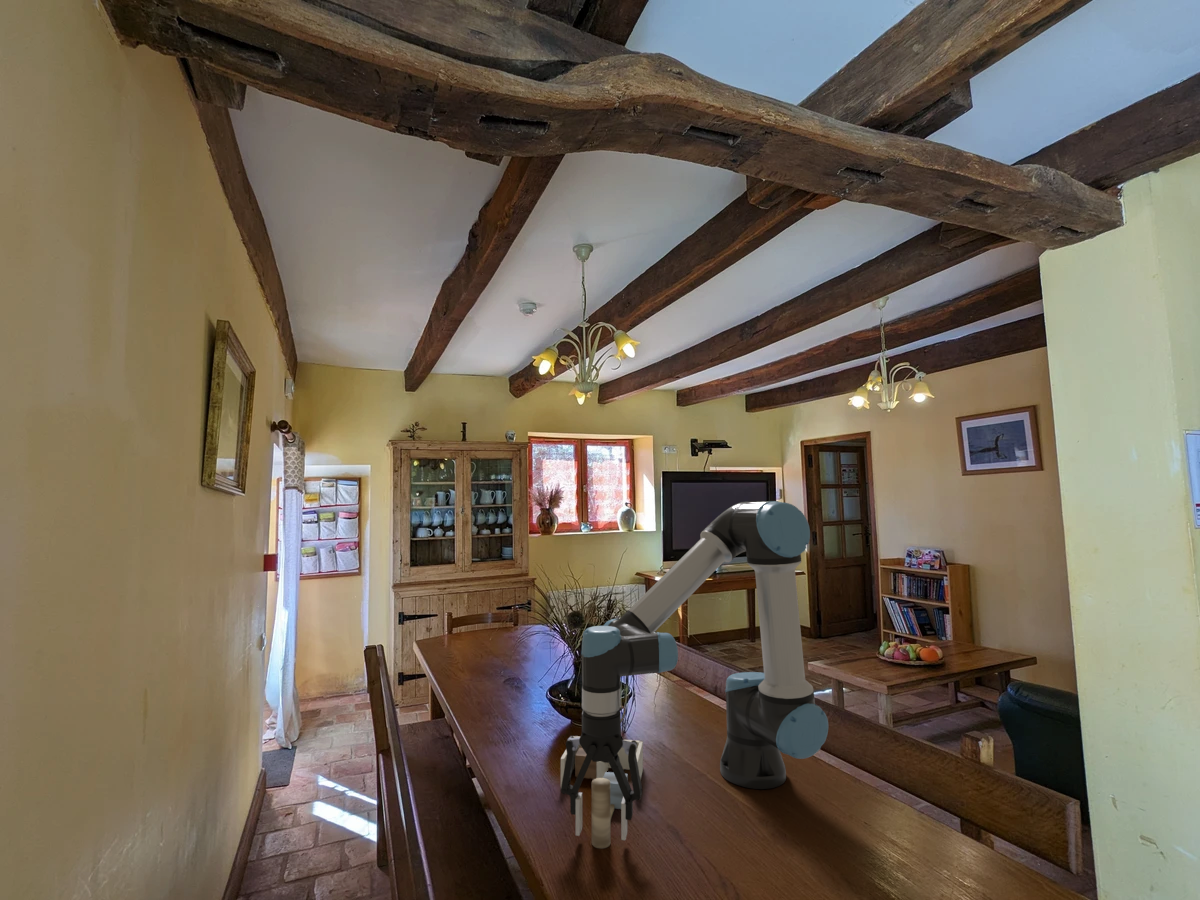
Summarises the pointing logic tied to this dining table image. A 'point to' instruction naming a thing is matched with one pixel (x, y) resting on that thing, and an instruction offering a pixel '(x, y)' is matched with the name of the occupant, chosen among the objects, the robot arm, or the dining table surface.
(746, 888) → the dining table surface
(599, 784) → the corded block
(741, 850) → the dining table surface
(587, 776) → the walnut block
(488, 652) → the dining table surface
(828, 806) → the dining table surface
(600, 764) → the lane rack
